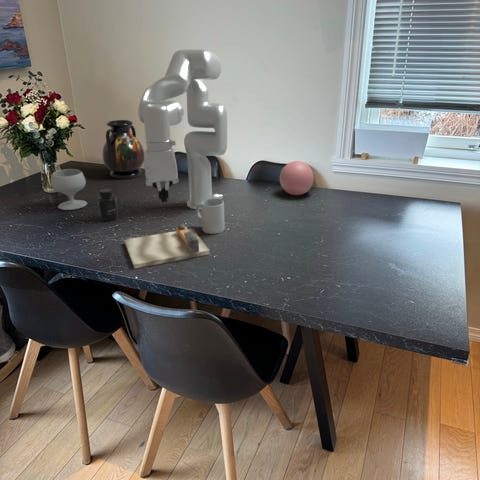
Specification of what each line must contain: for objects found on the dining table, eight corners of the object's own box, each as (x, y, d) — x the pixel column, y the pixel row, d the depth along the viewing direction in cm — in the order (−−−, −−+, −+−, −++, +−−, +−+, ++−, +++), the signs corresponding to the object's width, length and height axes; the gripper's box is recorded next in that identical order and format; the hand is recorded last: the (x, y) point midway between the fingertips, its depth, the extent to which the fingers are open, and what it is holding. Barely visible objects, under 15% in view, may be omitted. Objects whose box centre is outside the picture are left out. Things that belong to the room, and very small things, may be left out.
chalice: (57, 213, 178) (50, 179, 172) (54, 203, 190) (47, 170, 183) (92, 208, 184) (86, 174, 178) (86, 198, 195) (81, 166, 189)
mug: (229, 228, 163) (228, 200, 158) (216, 235, 156) (215, 207, 152) (203, 221, 169) (202, 195, 164) (190, 229, 162) (188, 202, 158)
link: (174, 232, 155) (174, 227, 154) (185, 230, 157) (185, 225, 156) (186, 247, 144) (186, 242, 143) (197, 245, 145) (197, 240, 144)
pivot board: (192, 232, 160) (191, 217, 157) (209, 254, 143) (209, 238, 141) (124, 243, 151) (122, 228, 149) (134, 268, 134) (132, 252, 132)
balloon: (318, 188, 205) (321, 156, 198) (307, 201, 188) (309, 167, 182) (288, 184, 210) (289, 154, 204) (274, 197, 194) (275, 164, 187)
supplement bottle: (113, 222, 169) (109, 193, 164) (97, 221, 170) (93, 192, 165) (121, 216, 175) (117, 188, 170) (106, 215, 176) (101, 187, 171)
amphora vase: (125, 183, 215) (118, 127, 203) (96, 177, 226) (88, 123, 214) (155, 173, 232) (149, 120, 220) (127, 167, 242) (120, 117, 230)
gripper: (180, 141, 139) (184, 195, 147) (133, 145, 135) (140, 199, 143) (184, 146, 132) (188, 202, 140) (135, 150, 128) (142, 207, 136)
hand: (164, 200), depth 141 cm, fingers closed
